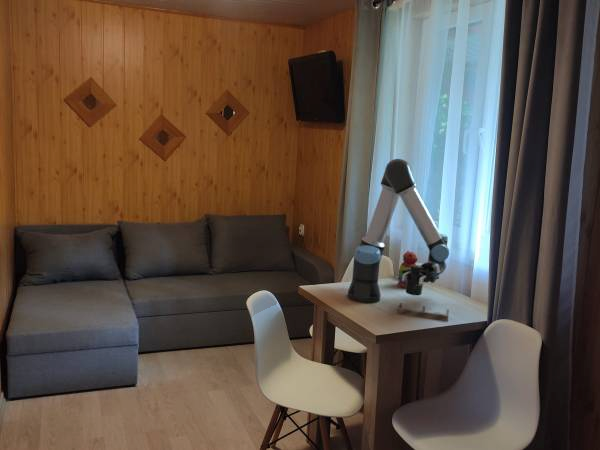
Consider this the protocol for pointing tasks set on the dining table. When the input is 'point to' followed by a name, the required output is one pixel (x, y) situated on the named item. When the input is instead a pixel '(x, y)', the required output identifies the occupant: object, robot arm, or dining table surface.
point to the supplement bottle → (414, 280)
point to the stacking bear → (406, 266)
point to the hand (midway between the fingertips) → (411, 279)
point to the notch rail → (423, 313)
